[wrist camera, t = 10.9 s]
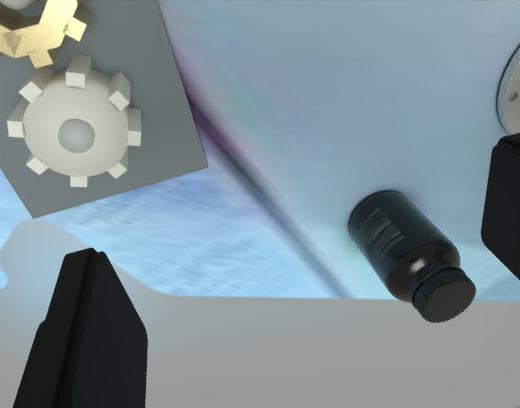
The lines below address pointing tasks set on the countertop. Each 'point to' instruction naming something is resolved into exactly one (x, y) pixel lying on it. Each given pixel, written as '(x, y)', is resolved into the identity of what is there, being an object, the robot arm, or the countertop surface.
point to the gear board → (149, 91)
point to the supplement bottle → (411, 256)
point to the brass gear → (42, 30)
